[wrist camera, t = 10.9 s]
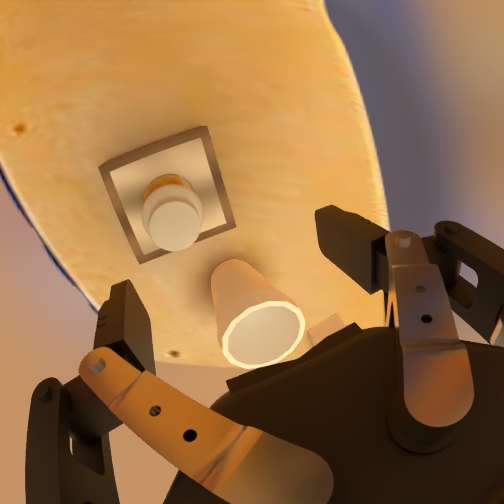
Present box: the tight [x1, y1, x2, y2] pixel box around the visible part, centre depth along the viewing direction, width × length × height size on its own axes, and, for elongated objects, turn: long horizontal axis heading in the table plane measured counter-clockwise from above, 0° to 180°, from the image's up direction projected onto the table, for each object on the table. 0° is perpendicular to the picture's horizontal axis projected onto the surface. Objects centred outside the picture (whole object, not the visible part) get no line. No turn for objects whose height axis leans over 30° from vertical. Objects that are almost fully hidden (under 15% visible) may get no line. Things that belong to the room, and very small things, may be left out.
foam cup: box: [211, 259, 305, 369], centre depth 35 cm, size 10×9×13 cm
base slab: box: [99, 126, 236, 264], centre depth 31 cm, size 12×12×4 cm
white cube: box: [308, 314, 346, 347], centre depth 50 cm, size 6×6×6 cm
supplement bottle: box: [142, 174, 204, 251], centre depth 25 cm, size 5×5×10 cm
